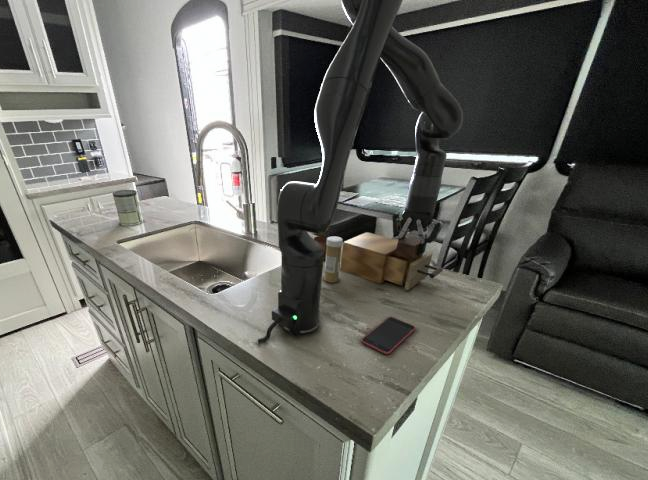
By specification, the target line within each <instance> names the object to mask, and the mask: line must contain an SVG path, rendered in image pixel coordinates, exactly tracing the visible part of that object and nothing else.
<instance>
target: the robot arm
mask: <svg viewBox="0 0 648 480" xmlns="http://www.w3.org/2000/svg"><path fill="white" fill-rule="evenodd" d="M403 1H404V0H341V5H342V9H343V10H344V13H345V15H346V16H347V18H348V20H349V22H350V23H351V24H352V27H351V30H350V31H349V32H348V34H347V36H346V38H345V39H344V41H343V43H342V44H341V46H340V47H339V49H338V51H337V53H336V54H335V56H334V58H333V60H332V61H331V63H330V64H329V67H328V68H327V70H326V73H325V75H324V77H323V81H322V83H321V86H320V88H319V89H320V91H319V93H318V96H317V99H316V103H315V107H314V123H315V128H316V132H317V135H318V136H317V137H318V139H319V142H320V147H321V153H322V165H321V171H320V175H319V177H318V178H319V179H318V181H317V183H312V182H311V183H310V182H304V181H295V180H293V181H288V182H287V183H285V185H283V187H282V189H280V192H279V195H278V200H277V206H276V216H277V217H276V219H277V237H278V238H277V241H278V248H279V251H280V253H281V267H280V268H281V270H280V271H281V274H280V277H281V279H280V281H281V282H280V291H278V292H277V307H276V308H274V309H272V310H271V320H272V321H273V322H272V323H271V324H270V325H269V326H268V328H267V330H266V334H265V336H264V337H260V338H258V339H257V343H258V344H262V343H265V342H267V341H268V340H269V339H270V338H271V334H272V331H273V330H274V328H276V326H278V327H279V328H281V329H283V330H284V331H286V332H288V333H290V334H292V335H293V336H295V337H298V336H300V335H306V334H311V333H313V332H315V331H317V329H318V328H319V326H320V325H319V324H320V308H321V307H320V306H321V297H322V295H321V294H322V282H323V272H324V271H323V269H324V260H325V259H324V249H323V247H322V246H321V245H320V244H319V243H318V242H316V241H315V240H314V238H313V237H312V236H311V235H310V234H309V233H313V234H324V233H325V232H326V231H328V230H329V228H330V226H331V225H332V223H333V221H334V218H335V216H336V212H337V209H338V205H339V201H340V196H341V193H342V188H343V182H344V180H345V174H346V170H347V166H348V162H349V158H350V155H351V151H352V148H353V145H354V141H355V139H356V135H357V132H358V129H359V126H360V123H361V120H362V117H363V114H364V111H365V109H366V106H367V102H368V100H369V97H370V96H369V95H370V92H371V88H372V84H373V81H374V78H375V75H376V72H377V69H378V66H379V63H380V60H381V61H382V62H383V64H385V66H386V67H387V69H388V70H389V71H390V73H391V74H392V76H393V77H394V79H395V80H396V82H397V84H398V86H399V87H400V89H401V91H402V93H403V95H404V97H405V99H406V101H407V103H409V105H410V107H411V108H412V109H414V110H416V111H419V112H421V113H420V114H419V116H418V119H417V121H416V125H415V153H416V155H415V156H416V157H415V162H414V166H413V171H412V176H411V178H410V182H409V186H408V189H407V195H406V200H405V205H404V211H403V212H396V213H394V214H392V219H391V220H392V234H393V236H394V235H395V236H397V237H398V239H397V240H398V241H400V240H402V239H404V238H406V237H407V235H408V233H409V231H410V230H414V231H416V232H417V234H418V237H420V243H419V247H418V251H417V255H418V256H420V255H421V254H423V255H424V254H425V252H426V248H427V244H431V243H434V241H436V239H437V238H438V235H439V234H440V232H441V230H442V228H443V226H445V225H444V224H445V223H444V221H443V220H441V221H439V220H437V219H435V216H434V215H435V210H436V206H437V202H438V198H439V194H440V190H441V186H442V177H443V174H444V169H445V166H446V161H447V152H446V151H445V150H444V149H442V148H440V140H447V139H451V138H453V137H455V136H456V135H457V134H458V133H459V131H460V130H461V128H462V126H463V122H464V112H463V109H462V107H461V105H460V103H459V102H458V101H457V99H456V98H455V97H454V95H453V94H452V93H451V92H450V91H449V90H448V89H447V87H445V86H444V85H443V84H442V82H441V80H440V78H439V75H438V73H437V71H436V69H435V66H434V65H433V62H432V60H431V58H430V57H429V55H428V54H427V53H426V52H425V50H423V49H422V48H420V47H419V46H417V45H416V44H415V43H414V42H412V41H411V40H409V39H408V38H406V37H405V36H404V35H402V34H401V33H400V32H399V31H398V30H397V29H396V28H394V27H393V25H394V22H395V20H396V17H397V15H398V12H399V10H400V8H401V6H402V3H403ZM402 220H403V222H404V225H403V226H402V225H401V221H402ZM431 224H432V226H431V227H432V230H431V233H430V234H429V228H428V227H429V226H430V225H431ZM428 234H429V235H428Z"/></svg>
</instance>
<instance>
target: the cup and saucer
mask: <svg viewBox="0 0 648 480" xmlns="http://www.w3.org/2000/svg"><path fill="white" fill-rule="evenodd" d="M328 237H331V236H329V235H317V236H315V237H314V238H313V239H314V240H315V241H316V242H318V243H319V244H320V245H321V246H322V247H323V249H324V259H323V260H326V251H327V238H328Z"/></svg>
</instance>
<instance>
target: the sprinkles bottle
mask: <svg viewBox="0 0 648 480" xmlns="http://www.w3.org/2000/svg"><path fill="white" fill-rule="evenodd" d="M343 240H344V239H343V238H342V237H340V236H330V237H328V238H327V251H326V259H325V261H324V262H325V264H324V276H323V280H324V281H325V282H327V283H336V282H339V275H340V269H341V256H342V248H343V242H344V241H343Z"/></svg>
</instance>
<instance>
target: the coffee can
mask: <svg viewBox="0 0 648 480" xmlns="http://www.w3.org/2000/svg"><path fill="white" fill-rule="evenodd" d="M112 196H113V200H114V204H115V208H116V212H117V215H118V220H119V224H120V225H121V226H125V227H128V226H131V227H132V226H136V225H140V224H142V223H143V222H144V220H143V215H142V212H141V207H140V202H139V198H138V192H137V190H136V189H135V190H134V189H124V190H123V189H122V190H117V191H113V192H112Z"/></svg>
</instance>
